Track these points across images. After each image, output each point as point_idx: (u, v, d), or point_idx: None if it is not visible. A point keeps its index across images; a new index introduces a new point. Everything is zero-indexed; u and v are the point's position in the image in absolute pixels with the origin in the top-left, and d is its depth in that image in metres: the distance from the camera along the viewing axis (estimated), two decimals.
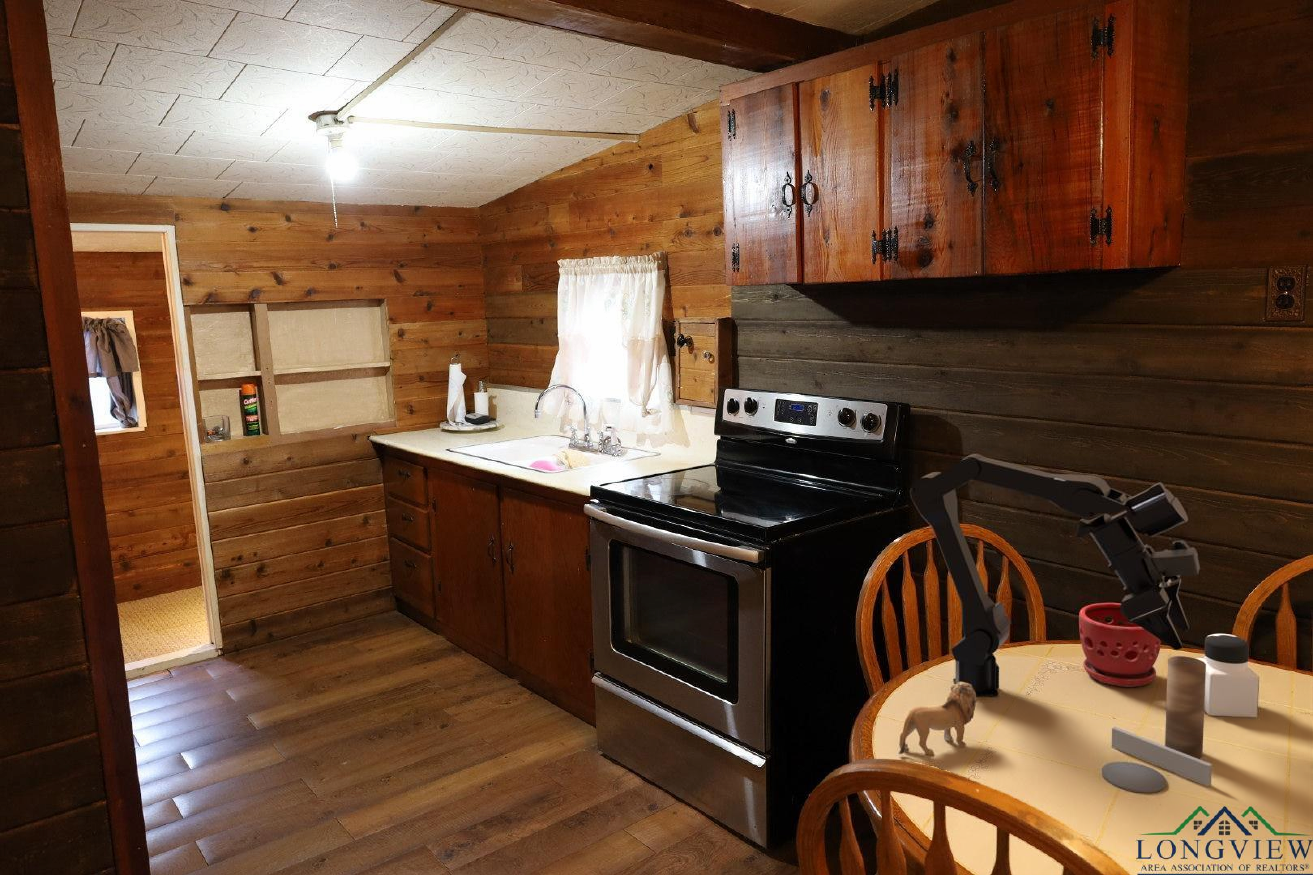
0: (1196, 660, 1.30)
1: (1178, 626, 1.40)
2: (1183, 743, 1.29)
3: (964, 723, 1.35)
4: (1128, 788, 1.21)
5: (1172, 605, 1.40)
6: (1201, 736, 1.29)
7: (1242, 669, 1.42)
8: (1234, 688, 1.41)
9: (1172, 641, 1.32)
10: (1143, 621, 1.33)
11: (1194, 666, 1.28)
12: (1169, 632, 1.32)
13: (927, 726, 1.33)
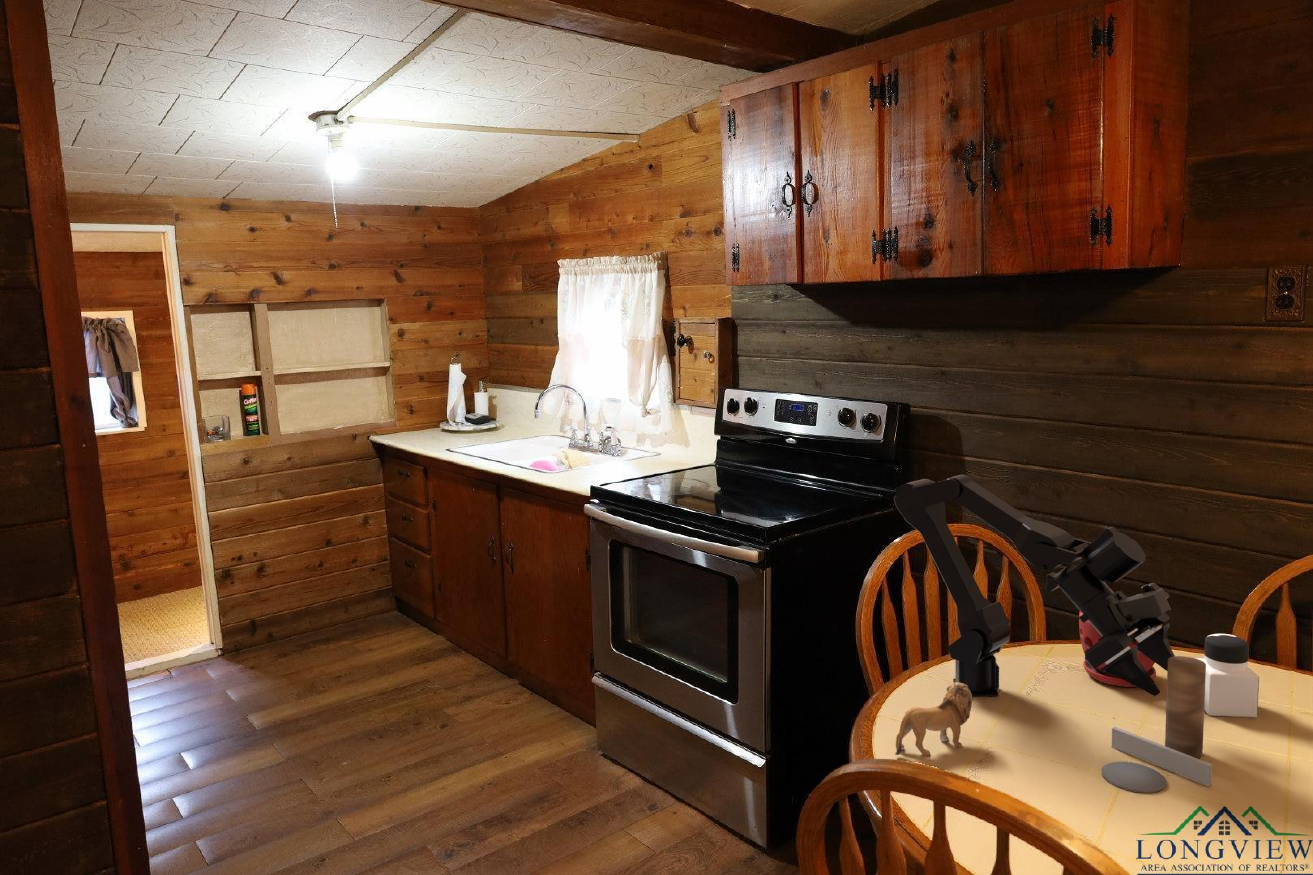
0: (1196, 660, 1.30)
1: None
2: (1183, 743, 1.29)
3: (960, 723, 1.35)
4: (1128, 788, 1.21)
5: (1162, 651, 1.36)
6: (1201, 736, 1.29)
7: (1242, 669, 1.42)
8: (1234, 688, 1.41)
9: (1148, 687, 1.29)
10: (1114, 669, 1.31)
11: (1194, 666, 1.28)
12: (1142, 678, 1.29)
13: (923, 727, 1.33)
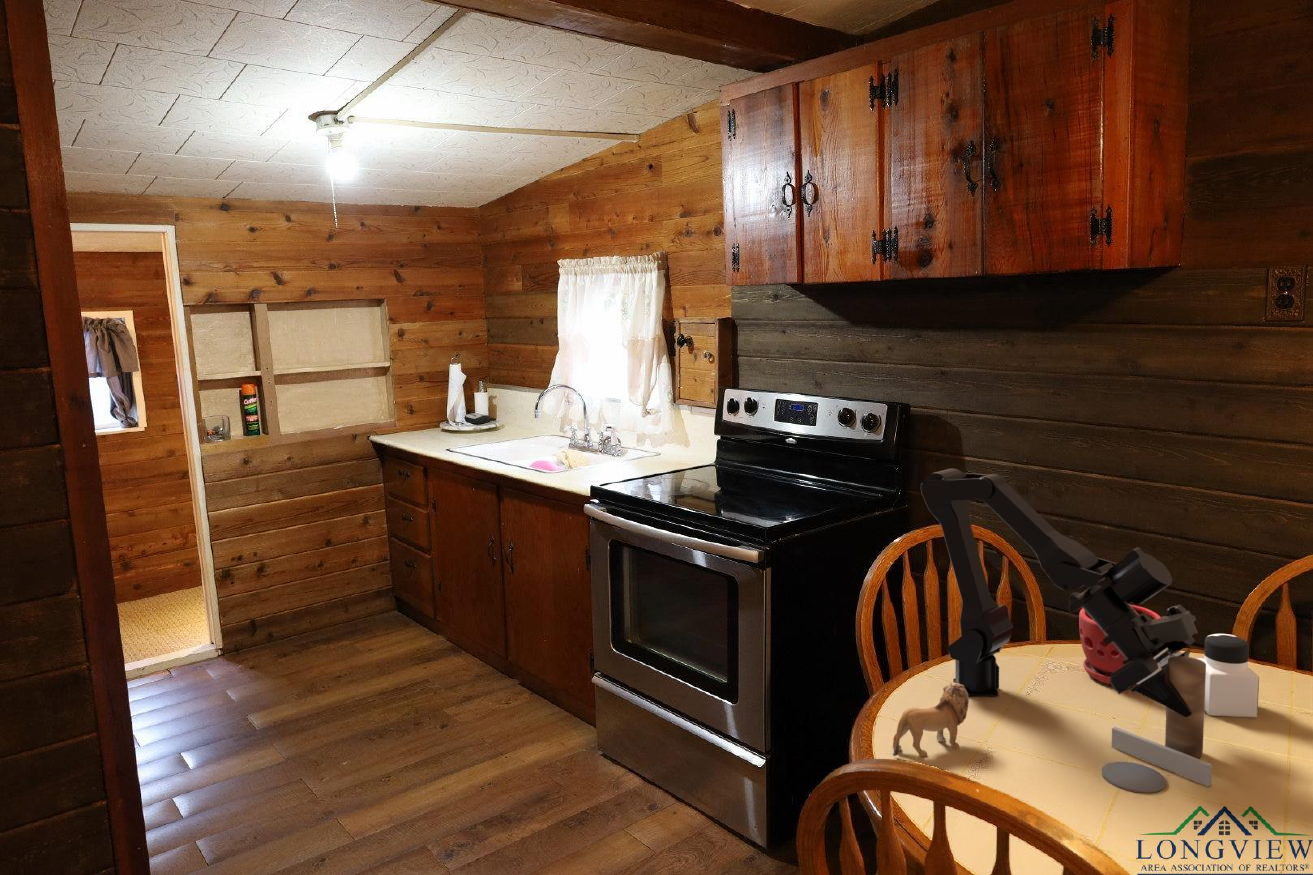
0: (1196, 660, 1.30)
1: None
2: (1183, 743, 1.29)
3: (957, 724, 1.35)
4: (1128, 788, 1.21)
5: None
6: (1201, 736, 1.29)
7: (1242, 669, 1.42)
8: (1234, 688, 1.41)
9: (1179, 708, 1.28)
10: (1145, 689, 1.30)
11: (1194, 666, 1.28)
12: (1173, 698, 1.28)
13: (921, 727, 1.33)
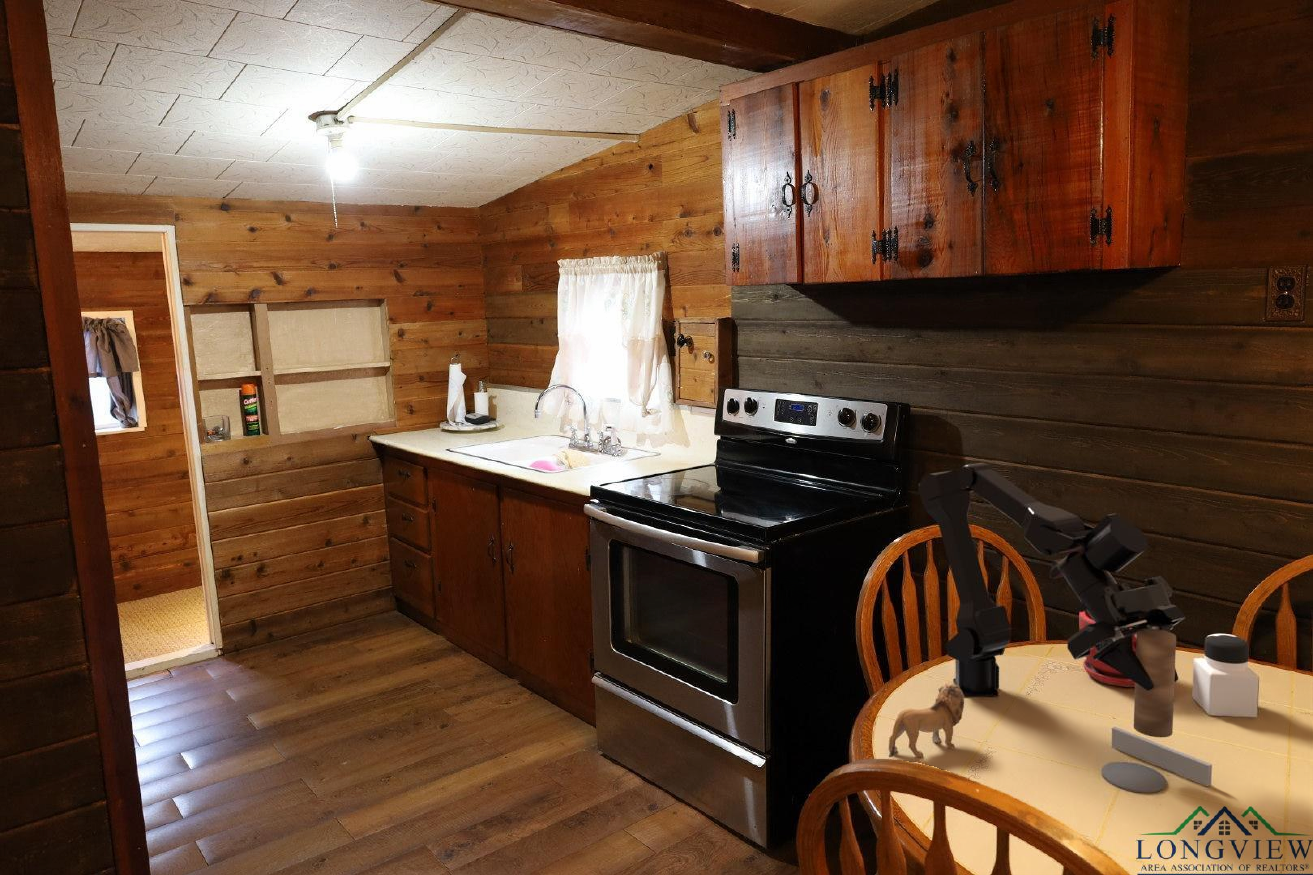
0: (1169, 634, 1.24)
1: None
2: (1147, 718, 1.23)
3: (953, 724, 1.35)
4: (1128, 788, 1.21)
5: None
6: (1168, 713, 1.23)
7: (1242, 669, 1.42)
8: (1234, 688, 1.41)
9: (1141, 680, 1.23)
10: (1108, 658, 1.26)
11: (1160, 638, 1.22)
12: (1135, 670, 1.23)
13: (917, 728, 1.33)
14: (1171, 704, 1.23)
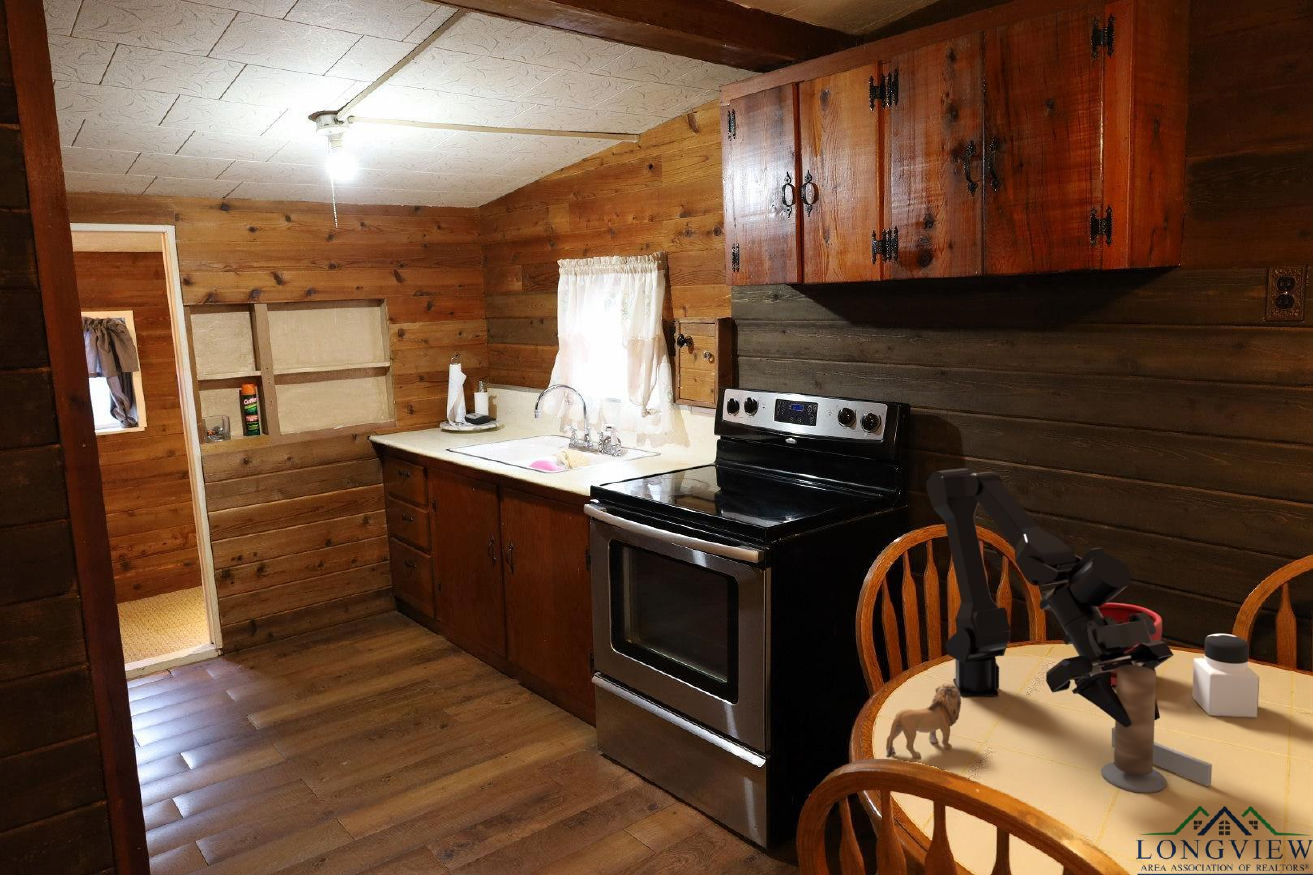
0: (1150, 671, 1.22)
1: None
2: (1124, 754, 1.23)
3: (950, 725, 1.35)
4: (1128, 788, 1.21)
5: None
6: (1146, 751, 1.22)
7: (1242, 669, 1.42)
8: (1234, 688, 1.41)
9: (1118, 717, 1.22)
10: (1087, 693, 1.25)
11: (1139, 675, 1.21)
12: (1112, 706, 1.22)
13: (914, 729, 1.33)
14: (1150, 742, 1.22)
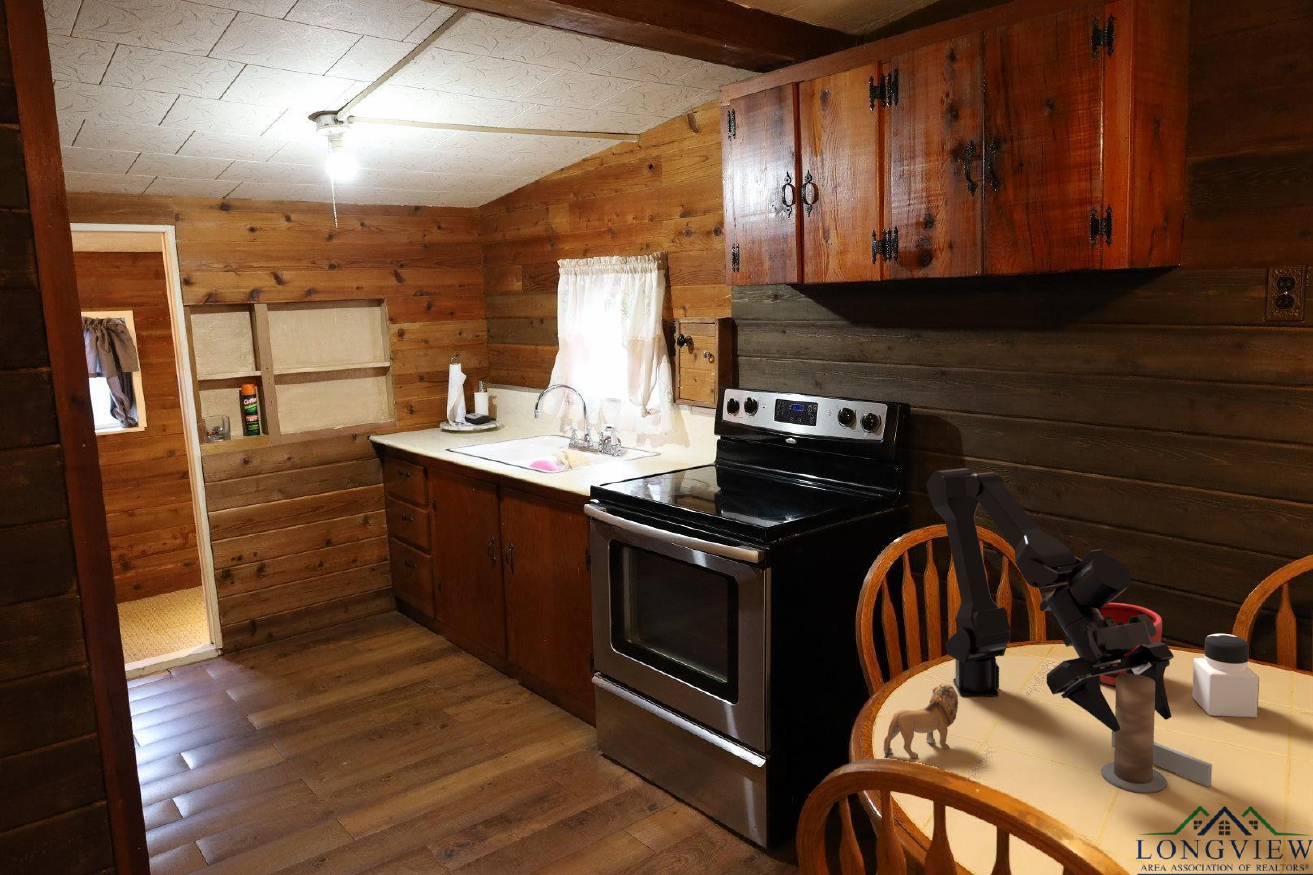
0: (1149, 680, 1.23)
1: (1161, 713, 1.25)
2: (1124, 763, 1.23)
3: (947, 725, 1.35)
4: (1128, 788, 1.21)
5: None
6: (1146, 760, 1.22)
7: (1242, 669, 1.42)
8: (1234, 688, 1.41)
9: (1107, 721, 1.21)
10: (1076, 697, 1.25)
11: (1138, 684, 1.21)
12: (1101, 710, 1.22)
13: (912, 729, 1.33)
14: (1150, 751, 1.22)
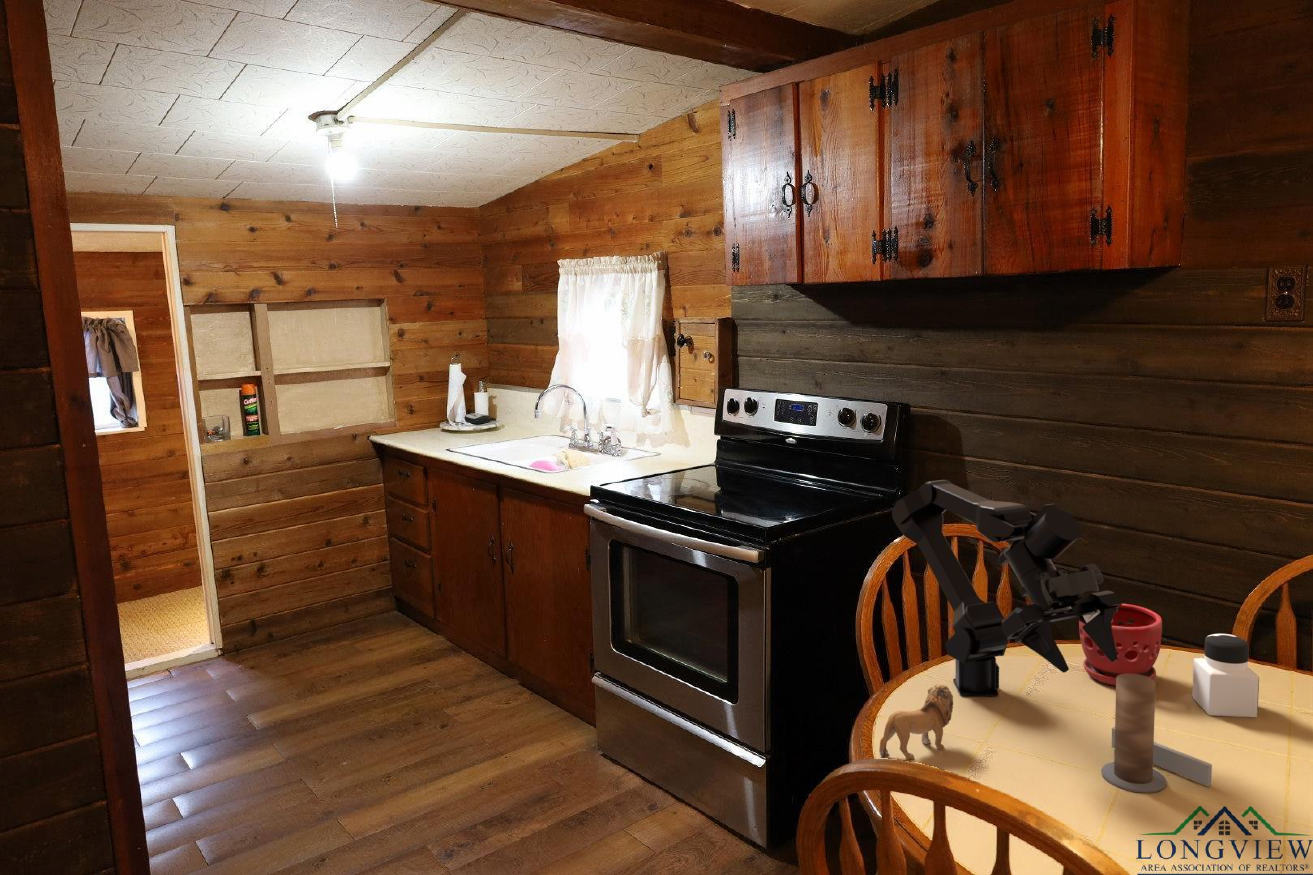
0: (1149, 680, 1.23)
1: (1109, 656, 1.33)
2: (1124, 763, 1.23)
3: (943, 726, 1.35)
4: (1128, 788, 1.21)
5: (1101, 633, 1.34)
6: (1146, 760, 1.22)
7: (1242, 669, 1.42)
8: (1234, 688, 1.41)
9: (1057, 663, 1.30)
10: (1029, 641, 1.33)
11: (1138, 684, 1.21)
12: (1051, 653, 1.30)
13: (908, 730, 1.32)
14: (1150, 751, 1.22)
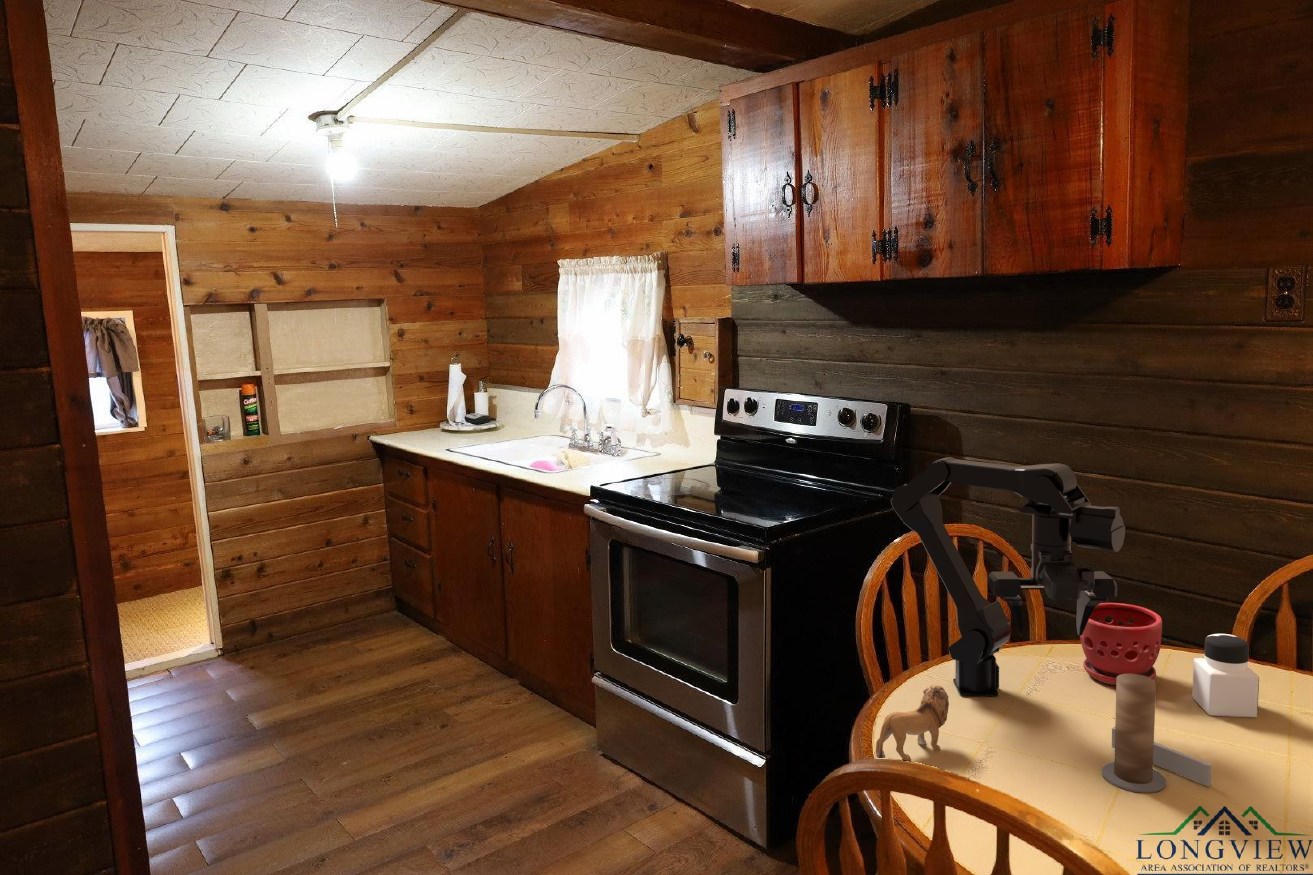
0: (1149, 680, 1.23)
1: (1078, 627, 1.45)
2: (1124, 763, 1.23)
3: (938, 726, 1.35)
4: (1128, 788, 1.21)
5: (1081, 610, 1.44)
6: (1146, 760, 1.22)
7: (1242, 669, 1.42)
8: (1234, 688, 1.41)
9: (1016, 625, 1.46)
10: None
11: (1139, 684, 1.21)
12: (1014, 618, 1.45)
13: (904, 731, 1.32)
14: (1150, 751, 1.22)
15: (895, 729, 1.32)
